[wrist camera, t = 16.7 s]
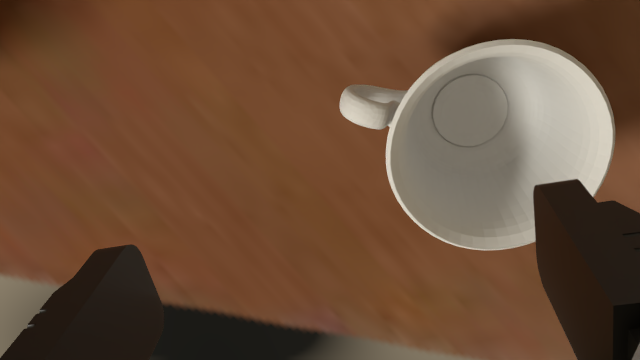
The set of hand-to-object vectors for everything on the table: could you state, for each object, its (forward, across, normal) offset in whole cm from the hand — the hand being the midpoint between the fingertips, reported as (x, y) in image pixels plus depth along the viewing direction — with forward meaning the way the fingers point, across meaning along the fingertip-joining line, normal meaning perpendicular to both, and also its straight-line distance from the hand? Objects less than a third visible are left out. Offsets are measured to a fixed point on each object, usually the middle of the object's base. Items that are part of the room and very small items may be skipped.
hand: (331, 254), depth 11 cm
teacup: (+29, -5, +7) cm, 30 cm away
